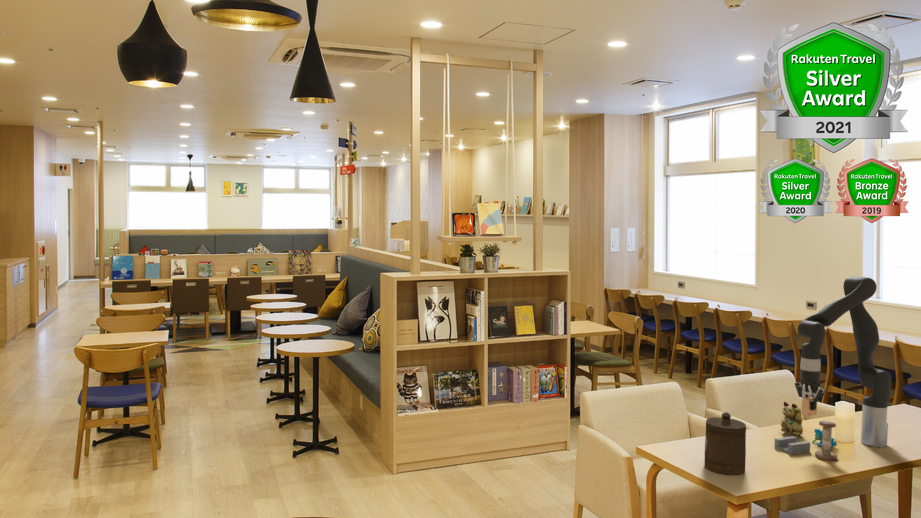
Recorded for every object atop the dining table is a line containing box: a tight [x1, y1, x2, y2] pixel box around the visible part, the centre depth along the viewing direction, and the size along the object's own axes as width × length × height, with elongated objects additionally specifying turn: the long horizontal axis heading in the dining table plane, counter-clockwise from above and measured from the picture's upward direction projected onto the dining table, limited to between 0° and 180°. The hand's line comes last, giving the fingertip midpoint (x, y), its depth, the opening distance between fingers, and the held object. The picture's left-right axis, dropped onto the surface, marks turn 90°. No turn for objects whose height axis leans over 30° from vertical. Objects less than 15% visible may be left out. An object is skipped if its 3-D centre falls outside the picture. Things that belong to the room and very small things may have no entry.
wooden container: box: [704, 411, 747, 476], centre depth 254 cm, size 15×15×22 cm
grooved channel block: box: [774, 436, 811, 456], centre depth 276 cm, size 10×9×4 cm
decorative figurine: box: [780, 401, 804, 438], centre depth 296 cm, size 10×8×15 cm
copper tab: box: [801, 396, 818, 417], centre depth 273 cm, size 5×3×7 cm, turn 111°
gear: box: [812, 428, 838, 448], centre depth 282 cm, size 11×6×10 cm
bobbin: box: [814, 420, 838, 462], centre depth 267 cm, size 8×8×14 cm
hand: (809, 408), depth 273 cm, fingers closed on copper tab, 2 cm apart
